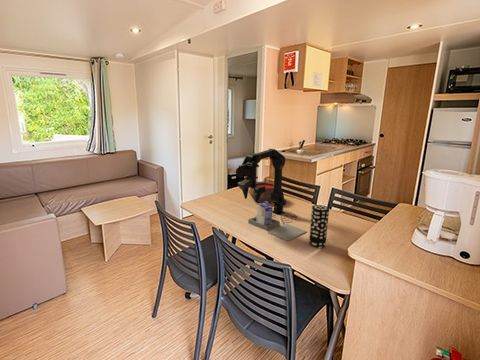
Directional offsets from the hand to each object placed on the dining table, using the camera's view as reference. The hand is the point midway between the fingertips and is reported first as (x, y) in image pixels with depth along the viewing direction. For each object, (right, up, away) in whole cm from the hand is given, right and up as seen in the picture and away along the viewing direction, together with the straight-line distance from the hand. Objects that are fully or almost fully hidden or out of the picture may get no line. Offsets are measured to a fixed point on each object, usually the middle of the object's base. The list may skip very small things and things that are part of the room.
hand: (250, 200), depth 160 cm
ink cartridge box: (+8, -15, +4) cm, 17 cm away
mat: (+21, -18, -8) cm, 28 cm away
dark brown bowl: (+12, -5, +48) cm, 49 cm away
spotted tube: (+34, -21, -21) cm, 45 cm away
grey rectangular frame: (+8, -15, +4) cm, 17 cm away
